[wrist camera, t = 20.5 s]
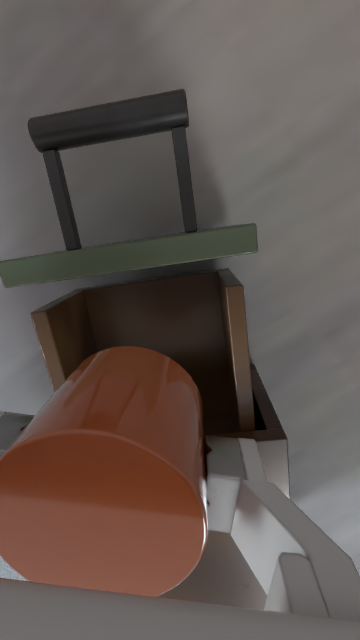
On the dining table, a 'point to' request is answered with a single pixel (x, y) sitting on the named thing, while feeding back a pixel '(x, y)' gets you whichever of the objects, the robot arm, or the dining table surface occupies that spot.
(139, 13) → the dining table surface
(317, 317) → the dining table surface
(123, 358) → the orange cylinder puck
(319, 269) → the dining table surface
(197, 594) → the cabinet
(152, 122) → the drawer
